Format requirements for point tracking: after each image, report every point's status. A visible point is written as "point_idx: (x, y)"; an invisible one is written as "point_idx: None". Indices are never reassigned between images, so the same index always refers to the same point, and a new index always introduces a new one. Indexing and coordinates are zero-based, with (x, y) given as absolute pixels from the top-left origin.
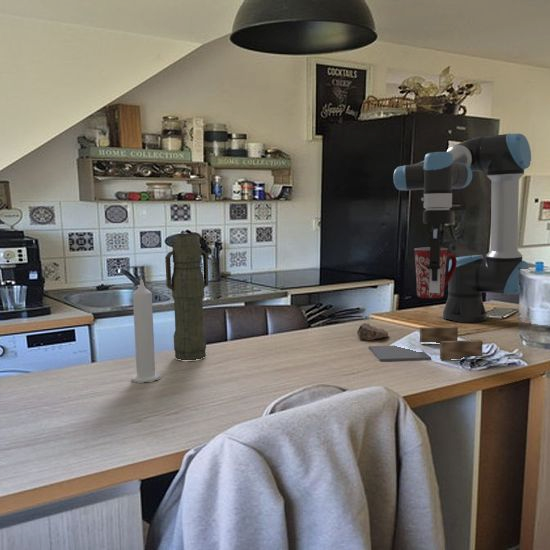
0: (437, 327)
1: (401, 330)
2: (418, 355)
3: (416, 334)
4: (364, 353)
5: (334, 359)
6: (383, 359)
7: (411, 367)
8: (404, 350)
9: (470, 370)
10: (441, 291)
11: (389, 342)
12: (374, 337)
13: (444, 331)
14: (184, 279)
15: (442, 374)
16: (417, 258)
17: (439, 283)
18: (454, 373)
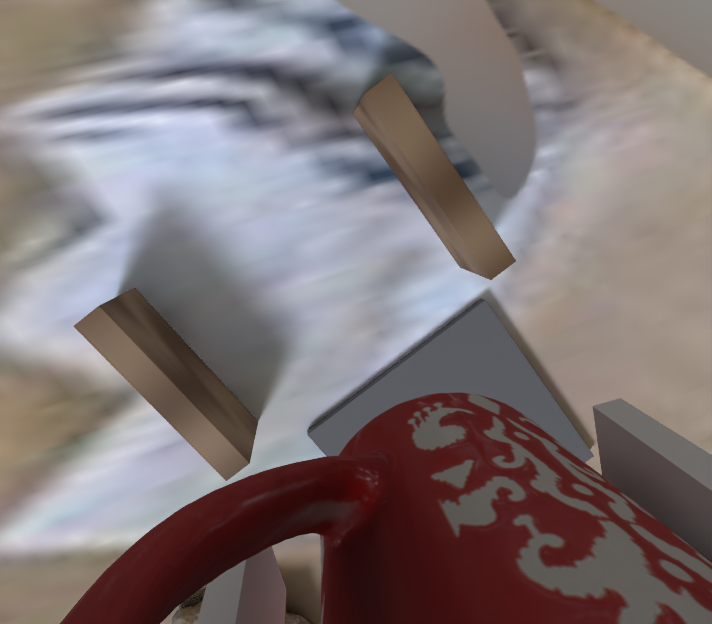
0: (172, 404)
1: (23, 607)
2: (480, 354)
3: (62, 519)
4: None
5: None
6: (585, 445)
7: (621, 322)
8: None
9: (572, 100)
10: (513, 416)
11: (290, 547)
12: (300, 618)
13: (164, 360)
14: None
15: (667, 187)
16: None
17: (704, 452)
18: (638, 149)
